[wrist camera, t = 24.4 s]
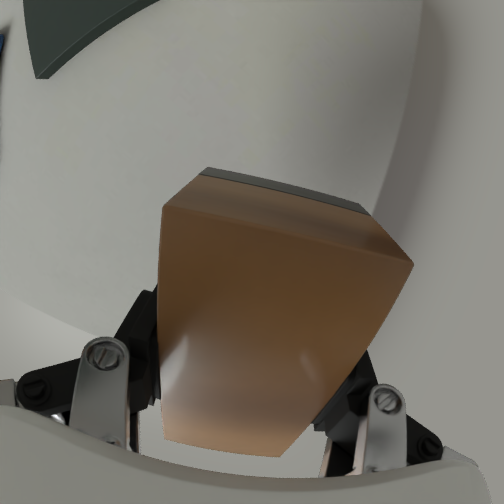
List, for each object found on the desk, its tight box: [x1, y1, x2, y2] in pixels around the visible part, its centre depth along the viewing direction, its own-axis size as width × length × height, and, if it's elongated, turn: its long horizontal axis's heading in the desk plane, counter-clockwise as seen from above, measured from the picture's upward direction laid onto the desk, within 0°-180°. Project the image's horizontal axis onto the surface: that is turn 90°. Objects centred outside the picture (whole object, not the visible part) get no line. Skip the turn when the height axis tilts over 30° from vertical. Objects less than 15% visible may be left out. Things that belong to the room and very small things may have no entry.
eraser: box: [157, 167, 414, 457], centre depth 9 cm, size 10×5×4 cm, turn 168°
